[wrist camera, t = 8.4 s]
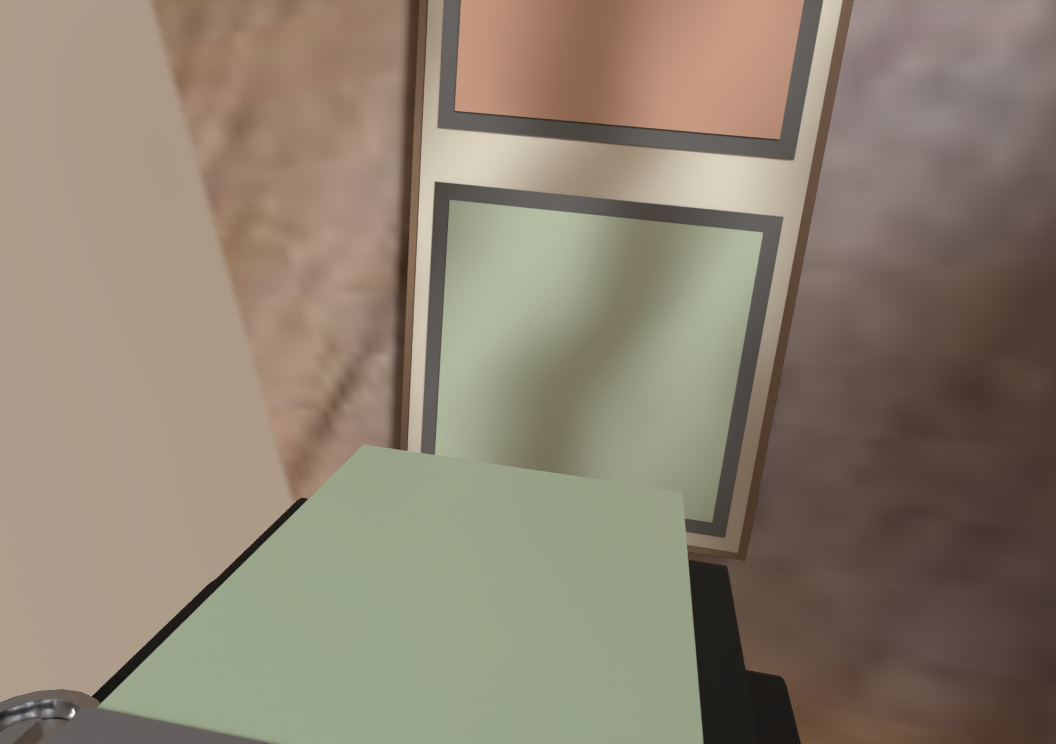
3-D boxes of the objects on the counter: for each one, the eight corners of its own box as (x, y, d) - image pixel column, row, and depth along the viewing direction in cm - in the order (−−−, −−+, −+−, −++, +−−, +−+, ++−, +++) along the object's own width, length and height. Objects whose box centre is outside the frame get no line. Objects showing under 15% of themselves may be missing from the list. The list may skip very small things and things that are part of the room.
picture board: (902, -296, 19) (918, -325, 18) (742, 546, 26) (746, 564, 25) (443, -303, 21) (430, -330, 20) (406, 493, 28) (395, 507, 27)
